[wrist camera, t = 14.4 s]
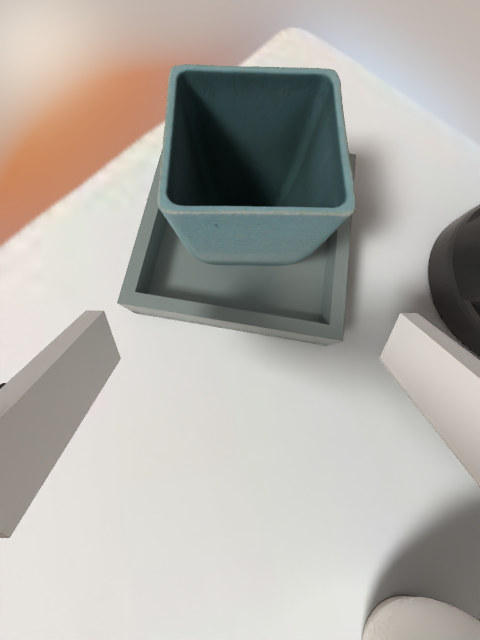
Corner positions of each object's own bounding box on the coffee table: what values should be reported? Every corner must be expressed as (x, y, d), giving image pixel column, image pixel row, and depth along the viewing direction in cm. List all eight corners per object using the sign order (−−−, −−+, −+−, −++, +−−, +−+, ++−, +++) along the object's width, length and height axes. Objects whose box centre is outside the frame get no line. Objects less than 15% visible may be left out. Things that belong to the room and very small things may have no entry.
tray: (339, 183, 22) (355, 154, 19) (325, 345, 19) (342, 340, 16) (177, 156, 22) (169, 124, 19) (135, 313, 19) (117, 303, 16)
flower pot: (196, 192, 20) (168, 59, 12) (294, 194, 21) (340, 64, 12) (192, 285, 18) (154, 211, 10) (300, 287, 19) (358, 214, 10)
